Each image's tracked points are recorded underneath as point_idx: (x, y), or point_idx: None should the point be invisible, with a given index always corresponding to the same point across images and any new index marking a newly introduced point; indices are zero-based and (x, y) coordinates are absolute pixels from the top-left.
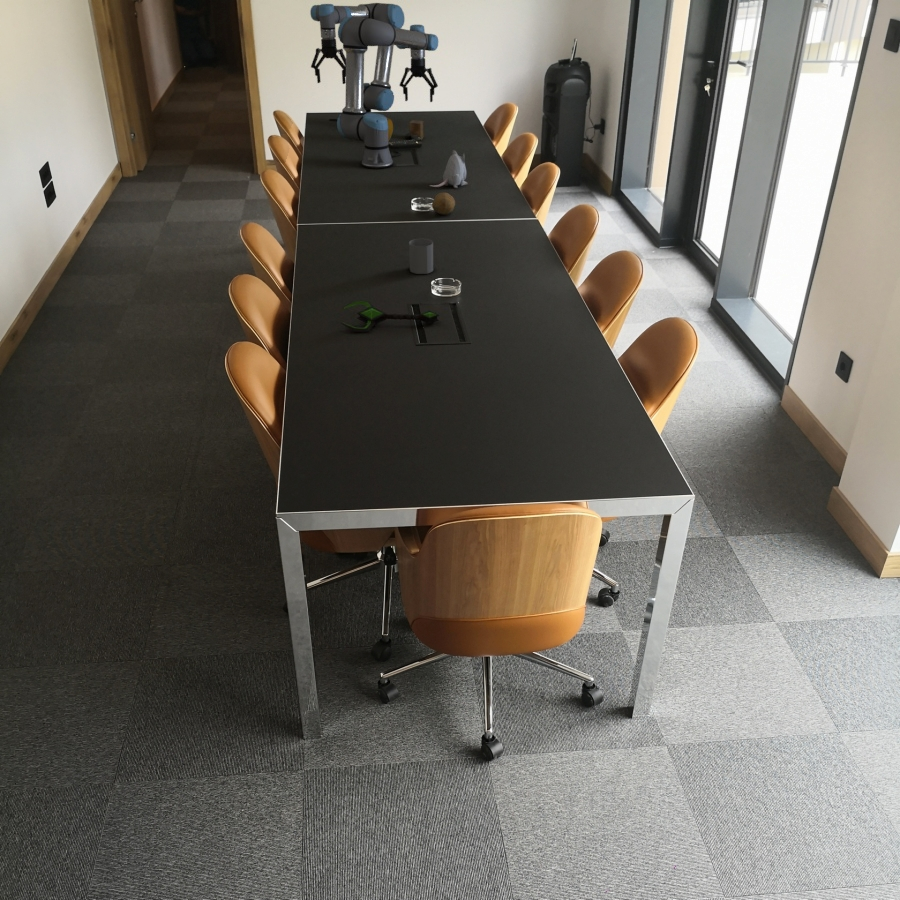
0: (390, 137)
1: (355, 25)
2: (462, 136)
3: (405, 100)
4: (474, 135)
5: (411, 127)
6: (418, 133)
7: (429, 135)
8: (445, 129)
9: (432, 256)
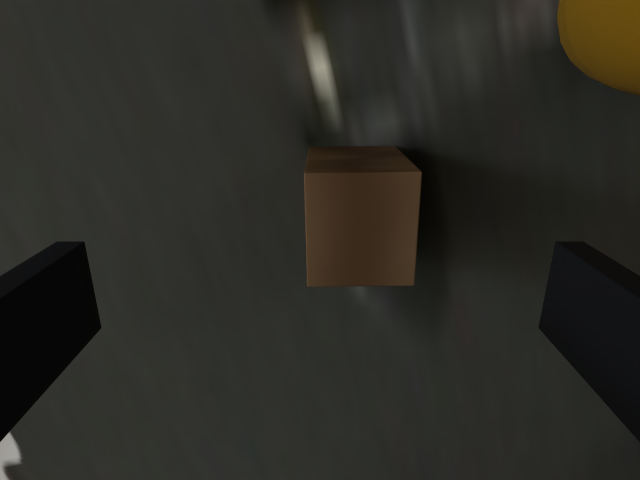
0: (559, 3)
1: None
2: None
3: (584, 244)
4: None
5: (394, 163)
6: (326, 156)
7: (287, 305)
8: (232, 456)
9: None
